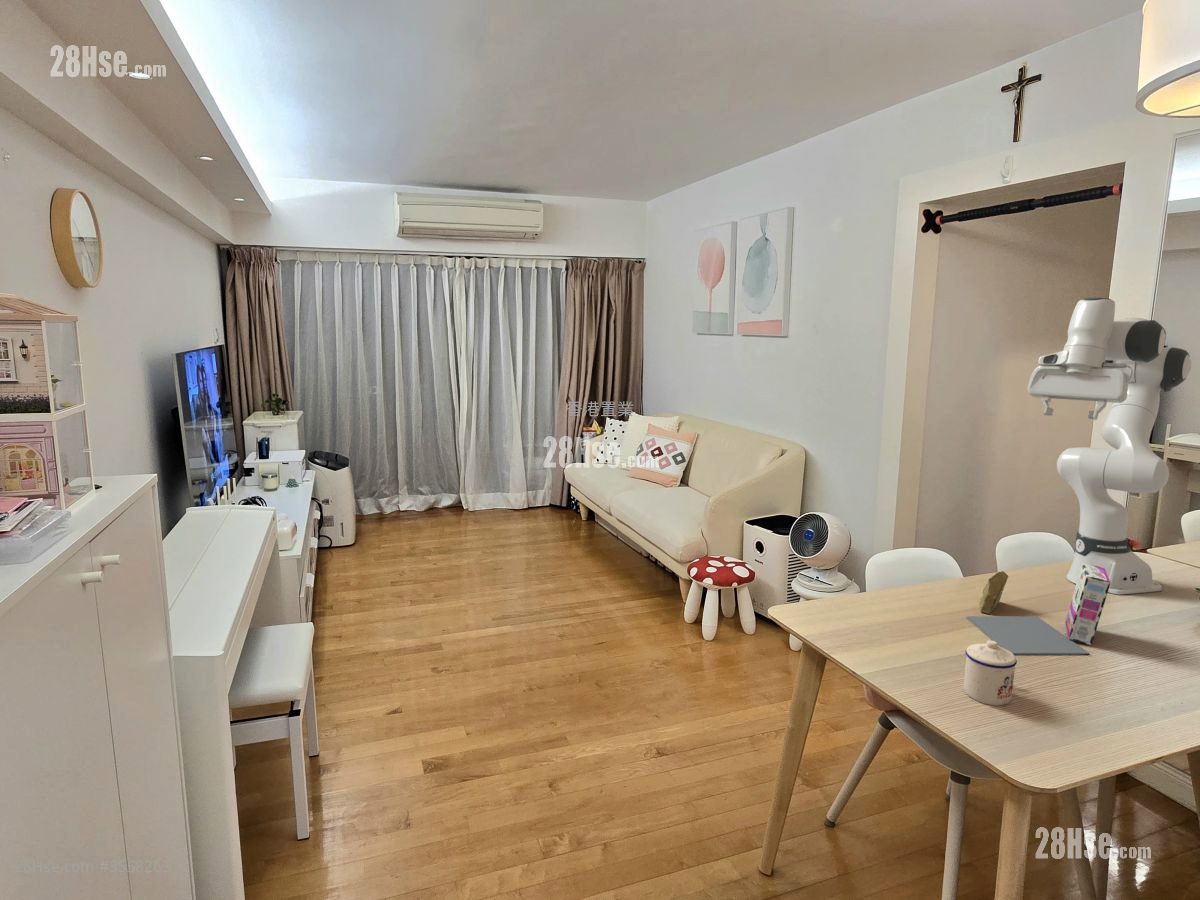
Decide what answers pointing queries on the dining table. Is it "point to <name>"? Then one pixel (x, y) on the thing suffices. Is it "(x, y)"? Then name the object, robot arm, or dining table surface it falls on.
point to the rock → (993, 592)
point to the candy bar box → (1087, 603)
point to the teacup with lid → (989, 673)
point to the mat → (1026, 635)
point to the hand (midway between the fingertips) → (1069, 417)
